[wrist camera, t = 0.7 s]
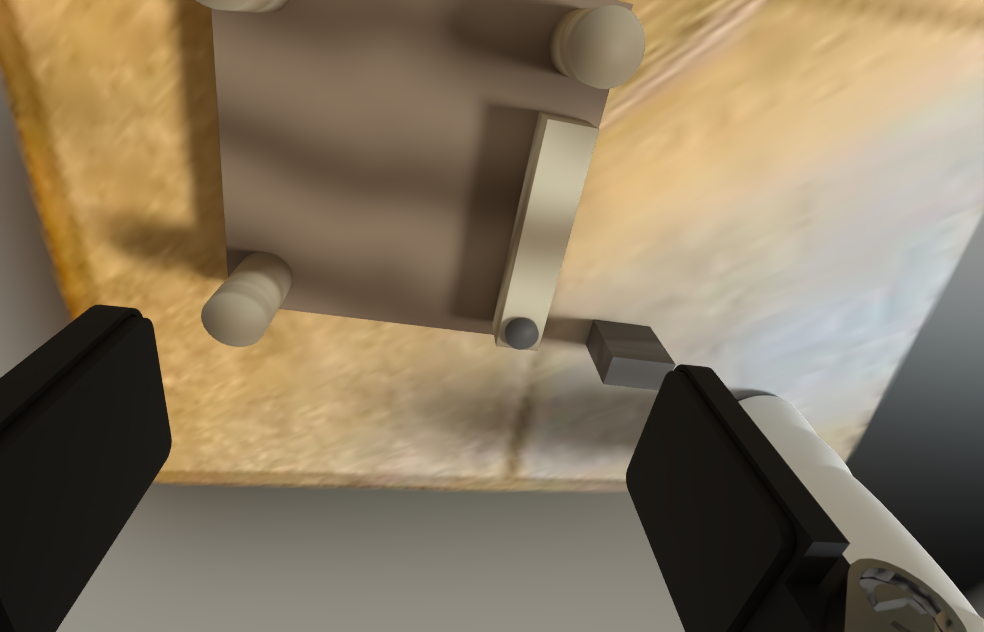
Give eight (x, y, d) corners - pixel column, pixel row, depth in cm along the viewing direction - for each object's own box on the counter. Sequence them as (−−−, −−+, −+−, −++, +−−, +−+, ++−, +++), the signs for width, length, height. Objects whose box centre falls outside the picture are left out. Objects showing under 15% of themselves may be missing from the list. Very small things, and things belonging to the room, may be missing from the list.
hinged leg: (531, 329, 31) (539, 354, 28) (492, 323, 30) (496, 349, 28) (586, 120, 25) (601, 130, 23) (539, 111, 25) (549, 120, 22)
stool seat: (227, -86, 22) (138, -132, 16) (761, 40, 26) (865, 45, 20) (246, 303, 31) (193, 376, 25) (640, 351, 36) (684, 424, 29)
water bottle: (695, 461, 41) (969, 938, 20) (715, 392, 38) (1075, 879, 16) (777, 457, 42) (1132, 917, 20) (805, 389, 39) (1268, 855, 17)
